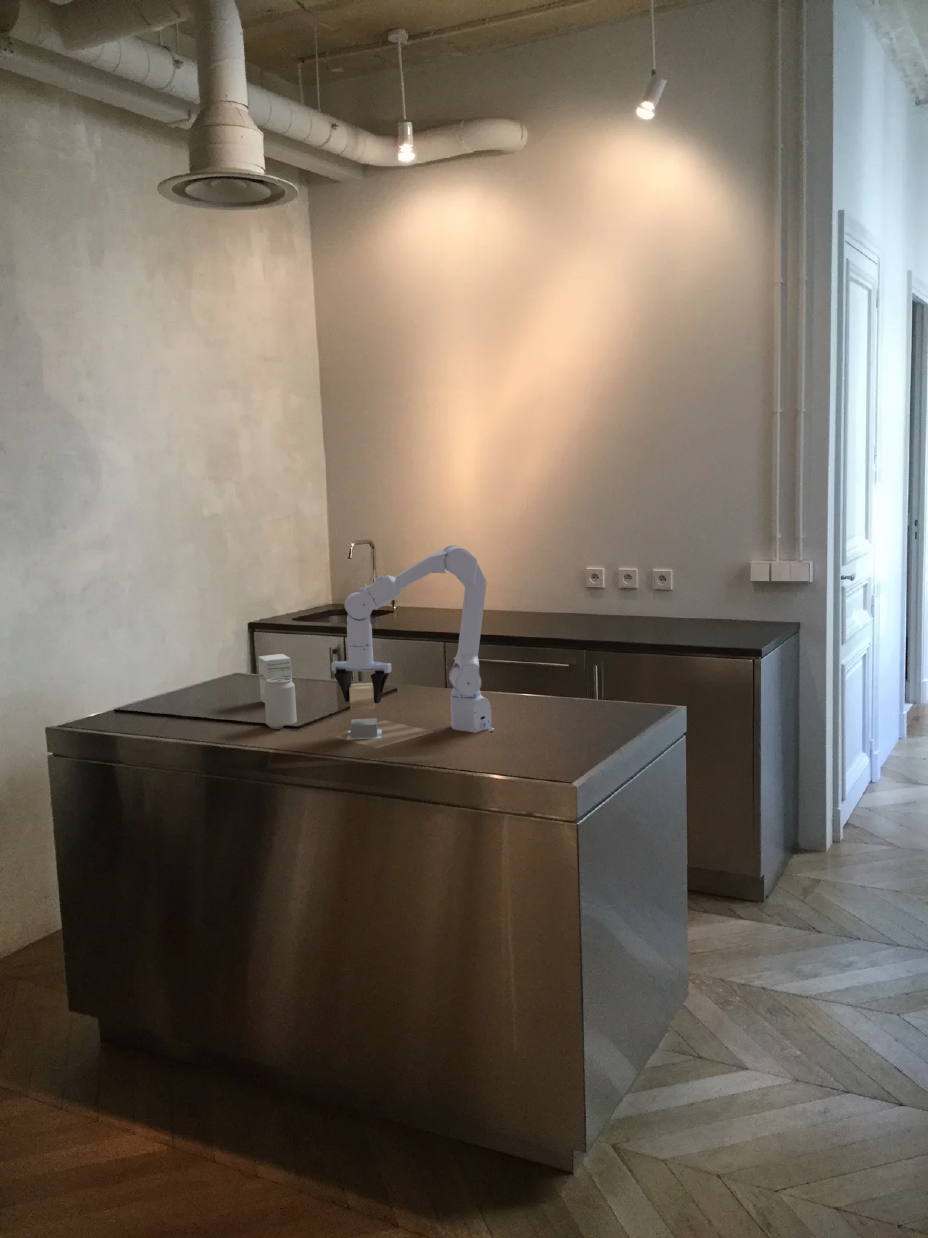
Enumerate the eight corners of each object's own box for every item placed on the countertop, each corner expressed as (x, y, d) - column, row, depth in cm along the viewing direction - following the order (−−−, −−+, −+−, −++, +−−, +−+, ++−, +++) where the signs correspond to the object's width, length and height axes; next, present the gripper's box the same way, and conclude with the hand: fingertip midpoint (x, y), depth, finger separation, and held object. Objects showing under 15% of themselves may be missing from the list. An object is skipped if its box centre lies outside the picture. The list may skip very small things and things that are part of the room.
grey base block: (377, 737, 256) (376, 724, 255) (351, 738, 255) (350, 725, 255) (377, 730, 262) (376, 718, 261) (352, 731, 261) (351, 719, 261)
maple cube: (374, 709, 255) (373, 687, 254) (350, 710, 255) (349, 688, 254) (375, 703, 260) (374, 682, 259) (352, 704, 260) (351, 683, 259)
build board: (435, 735, 259) (435, 731, 259) (377, 752, 246) (377, 748, 246) (385, 724, 271) (384, 720, 271) (327, 739, 259) (327, 735, 259)
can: (260, 728, 272) (257, 680, 270) (278, 721, 278) (276, 674, 276) (284, 731, 268) (281, 683, 266) (303, 723, 275) (300, 676, 273)
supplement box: (260, 701, 302) (257, 656, 300) (286, 698, 305) (283, 653, 303) (267, 706, 295) (264, 660, 293) (294, 703, 298) (291, 657, 296)
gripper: (395, 642, 256) (398, 699, 258) (339, 640, 261) (342, 696, 263) (383, 647, 250) (386, 706, 252) (326, 645, 255) (329, 703, 257)
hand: (362, 701), depth 257 cm, fingers closed on maple cube, 7 cm apart
